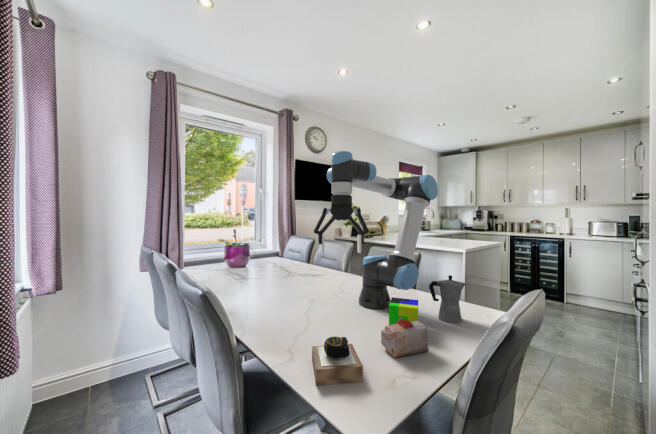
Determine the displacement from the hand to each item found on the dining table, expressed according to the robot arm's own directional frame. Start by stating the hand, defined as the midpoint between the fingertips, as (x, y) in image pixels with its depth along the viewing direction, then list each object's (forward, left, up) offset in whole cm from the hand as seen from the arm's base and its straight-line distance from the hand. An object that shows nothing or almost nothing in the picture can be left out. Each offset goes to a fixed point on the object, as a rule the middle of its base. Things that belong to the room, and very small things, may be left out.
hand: (341, 253), depth 98 cm
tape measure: (+5, +24, -25) cm, 35 cm away
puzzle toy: (-24, +1, -29) cm, 38 cm away
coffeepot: (-46, -6, -29) cm, 55 cm away
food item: (-17, +16, -29) cm, 38 cm away
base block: (+6, +24, -29) cm, 38 cm away
